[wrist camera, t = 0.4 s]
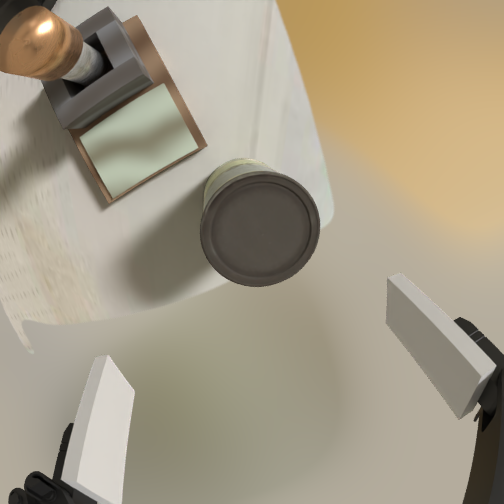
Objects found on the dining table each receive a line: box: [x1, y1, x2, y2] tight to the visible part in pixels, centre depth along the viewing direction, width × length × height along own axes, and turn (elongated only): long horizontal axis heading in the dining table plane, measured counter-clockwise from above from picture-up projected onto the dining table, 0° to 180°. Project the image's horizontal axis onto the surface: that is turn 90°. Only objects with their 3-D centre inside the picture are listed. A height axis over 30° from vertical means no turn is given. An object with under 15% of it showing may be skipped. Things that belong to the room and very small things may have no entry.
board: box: [41, 7, 207, 204], centre depth 27 cm, size 20×14×8 cm
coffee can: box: [200, 158, 320, 287], centre depth 31 cm, size 10×10×14 cm
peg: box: [0, 6, 114, 86], centre depth 19 cm, size 5×5×18 cm
